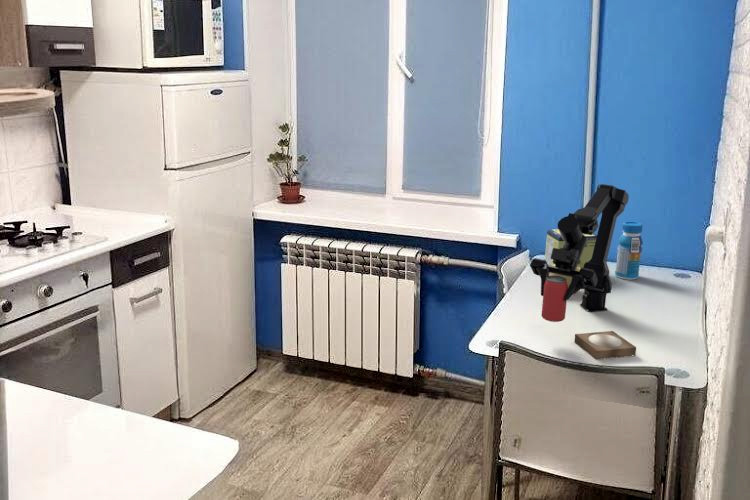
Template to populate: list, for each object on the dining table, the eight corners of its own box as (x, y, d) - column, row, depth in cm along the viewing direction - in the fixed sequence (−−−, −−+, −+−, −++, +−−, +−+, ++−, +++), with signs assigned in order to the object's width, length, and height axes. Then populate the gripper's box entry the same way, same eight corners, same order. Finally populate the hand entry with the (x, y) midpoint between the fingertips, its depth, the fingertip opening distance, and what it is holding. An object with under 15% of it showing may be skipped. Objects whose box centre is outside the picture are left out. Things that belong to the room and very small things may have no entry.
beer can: (565, 323, 214) (569, 283, 211) (541, 321, 215) (545, 281, 212) (563, 315, 220) (567, 275, 217) (540, 313, 221) (544, 274, 218)
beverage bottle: (611, 277, 276) (617, 224, 271) (617, 271, 283) (623, 219, 278) (635, 281, 272) (642, 227, 267) (641, 275, 279) (647, 222, 273)
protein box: (594, 276, 277) (599, 235, 273) (554, 278, 274) (558, 236, 270) (581, 267, 287) (585, 227, 283) (542, 269, 284) (546, 229, 279)
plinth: (611, 338, 221) (612, 330, 221) (635, 355, 210) (636, 347, 209) (574, 342, 218) (575, 333, 218) (596, 359, 207) (597, 350, 206)
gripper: (535, 231, 219) (515, 277, 214) (598, 242, 209) (579, 291, 203) (544, 251, 228) (525, 295, 222) (605, 263, 217) (587, 310, 212)
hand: (553, 297), depth 215 cm, fingers closed on beer can, 6 cm apart
